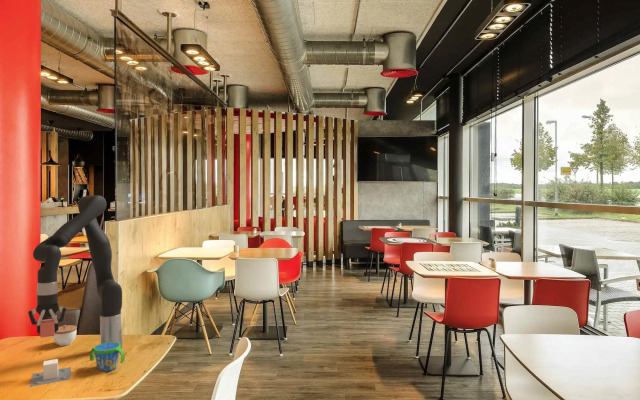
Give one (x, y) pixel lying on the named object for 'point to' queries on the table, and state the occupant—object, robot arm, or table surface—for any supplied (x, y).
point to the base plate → (39, 379)
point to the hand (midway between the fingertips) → (47, 332)
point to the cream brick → (50, 369)
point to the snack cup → (107, 355)
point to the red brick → (47, 328)
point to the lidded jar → (65, 335)
